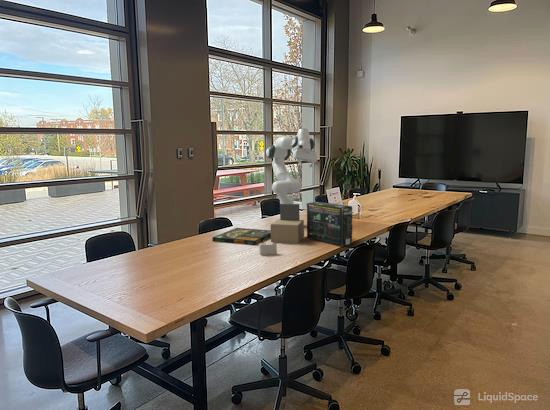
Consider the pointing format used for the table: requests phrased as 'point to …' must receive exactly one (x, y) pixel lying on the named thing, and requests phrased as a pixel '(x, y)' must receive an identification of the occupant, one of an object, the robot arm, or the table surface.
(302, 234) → the carton
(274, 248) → the model
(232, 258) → the table surface
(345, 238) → the router box
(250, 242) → the pizza box
